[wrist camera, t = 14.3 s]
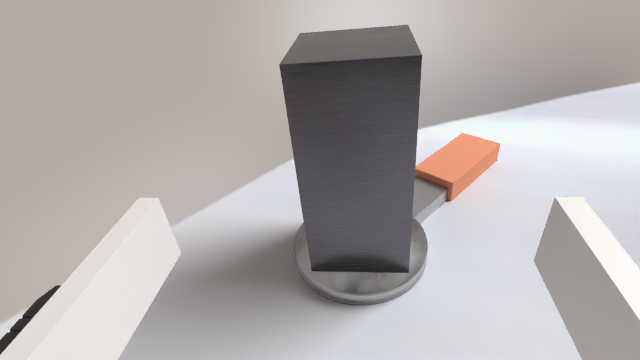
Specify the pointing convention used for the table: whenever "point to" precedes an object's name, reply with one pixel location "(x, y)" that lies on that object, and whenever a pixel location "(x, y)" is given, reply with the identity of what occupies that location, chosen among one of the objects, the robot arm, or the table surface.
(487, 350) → the table surface
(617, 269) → the robot arm
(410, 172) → the dark grey block
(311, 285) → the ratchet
